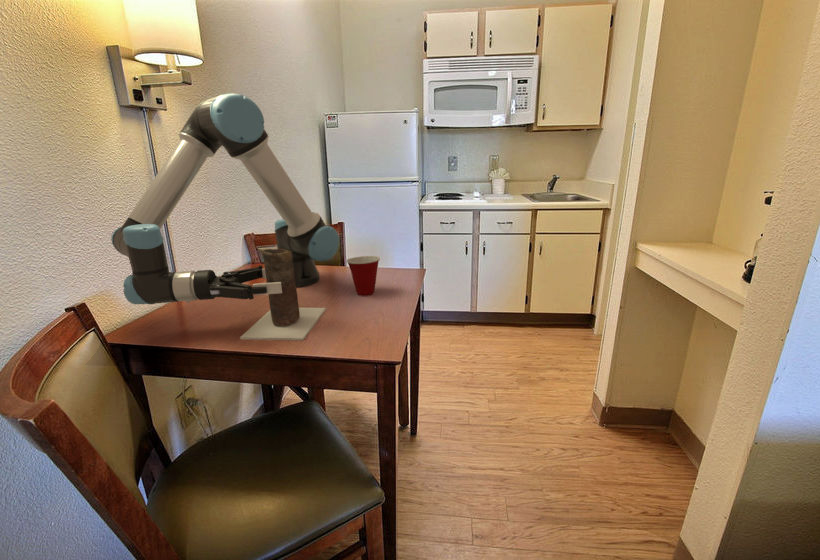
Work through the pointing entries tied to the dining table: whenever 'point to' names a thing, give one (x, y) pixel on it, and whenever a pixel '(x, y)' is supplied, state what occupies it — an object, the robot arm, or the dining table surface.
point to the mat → (284, 327)
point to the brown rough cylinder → (282, 271)
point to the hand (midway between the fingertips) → (284, 279)
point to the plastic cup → (364, 273)
